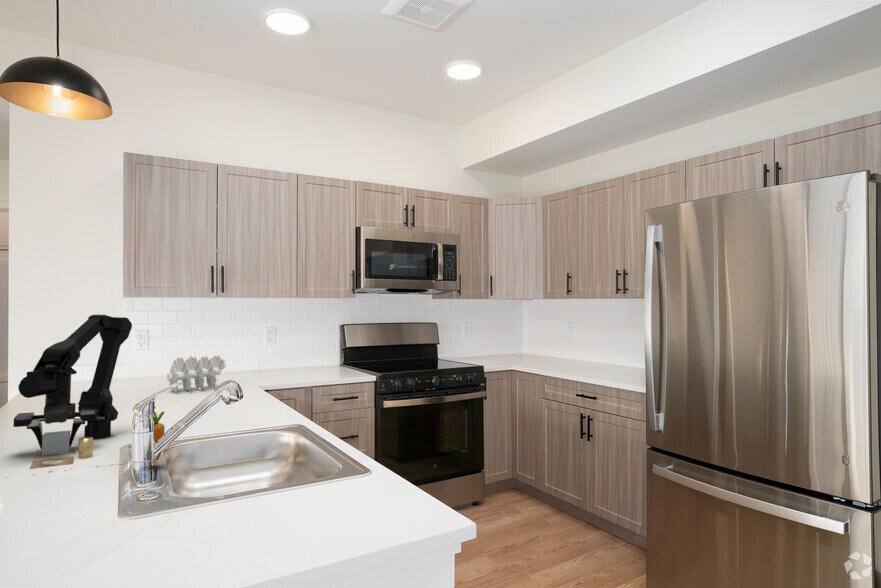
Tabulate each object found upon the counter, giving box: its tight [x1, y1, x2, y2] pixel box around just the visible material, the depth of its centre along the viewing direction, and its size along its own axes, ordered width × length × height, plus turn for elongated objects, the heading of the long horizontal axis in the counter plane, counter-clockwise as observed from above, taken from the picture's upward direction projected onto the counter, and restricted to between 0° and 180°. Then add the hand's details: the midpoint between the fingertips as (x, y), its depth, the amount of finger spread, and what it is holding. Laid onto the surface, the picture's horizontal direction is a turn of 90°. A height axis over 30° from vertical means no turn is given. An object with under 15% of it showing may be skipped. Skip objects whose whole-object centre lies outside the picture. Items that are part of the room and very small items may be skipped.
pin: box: [77, 436, 94, 459], centre depth 143 cm, size 3×3×6 cm
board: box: [34, 446, 77, 458], centre depth 148 cm, size 9×8×4 cm
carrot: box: [153, 411, 166, 461], centre depth 138 cm, size 5×5×15 cm
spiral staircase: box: [166, 354, 226, 393], centre depth 264 cm, size 18×18×25 cm
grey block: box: [42, 430, 71, 457], centre depth 148 cm, size 6×6×5 cm
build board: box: [29, 455, 75, 470], centre depth 138 cm, size 9×8×1 cm
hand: (56, 447), depth 148 cm, fingers closed on grey block, 6 cm apart
